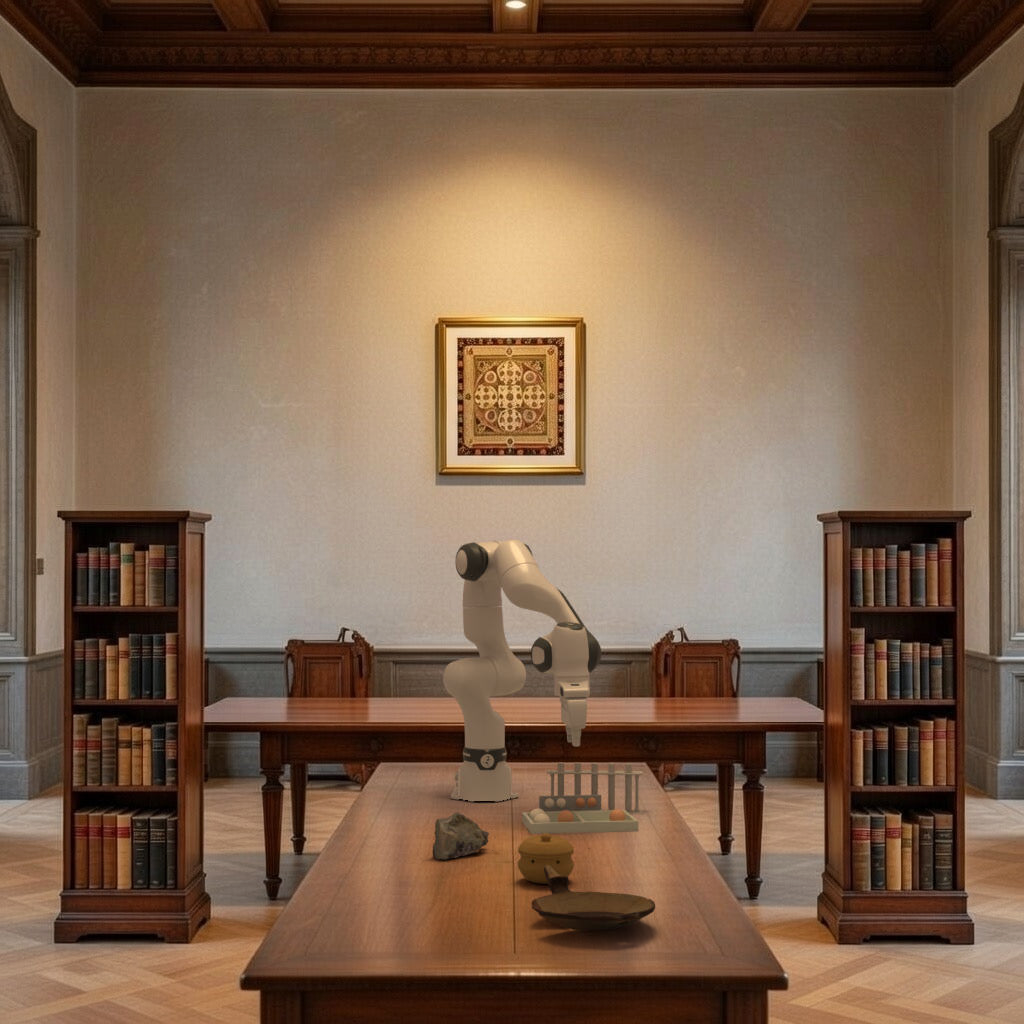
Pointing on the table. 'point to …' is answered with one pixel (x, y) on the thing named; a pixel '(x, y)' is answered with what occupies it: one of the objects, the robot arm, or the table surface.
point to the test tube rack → (594, 783)
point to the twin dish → (581, 823)
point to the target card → (570, 803)
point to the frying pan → (589, 906)
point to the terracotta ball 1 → (565, 816)
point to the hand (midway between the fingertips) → (573, 744)
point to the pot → (545, 857)
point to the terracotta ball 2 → (617, 815)
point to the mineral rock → (457, 837)
